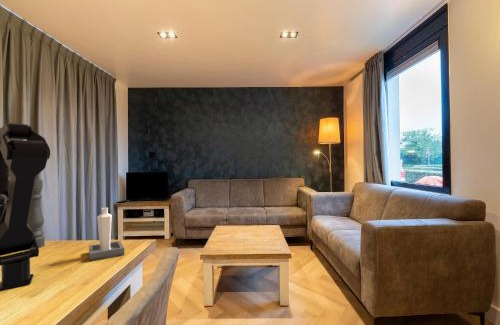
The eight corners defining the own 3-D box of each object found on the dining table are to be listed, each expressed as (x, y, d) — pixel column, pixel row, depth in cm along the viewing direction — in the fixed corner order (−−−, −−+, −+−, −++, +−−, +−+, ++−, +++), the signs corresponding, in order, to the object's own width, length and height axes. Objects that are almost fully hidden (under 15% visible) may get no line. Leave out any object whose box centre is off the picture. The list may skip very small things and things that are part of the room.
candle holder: (41, 248, 100) (40, 180, 100) (20, 250, 98) (19, 181, 97) (46, 243, 106) (45, 179, 105) (27, 245, 103) (26, 180, 103)
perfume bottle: (98, 250, 95) (98, 207, 94) (112, 248, 96) (112, 206, 96) (96, 254, 90) (95, 209, 90) (111, 252, 92) (110, 208, 92)
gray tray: (124, 255, 92) (124, 247, 92) (90, 261, 86) (90, 253, 86) (120, 247, 100) (120, 240, 100) (88, 252, 95) (88, 245, 95)
